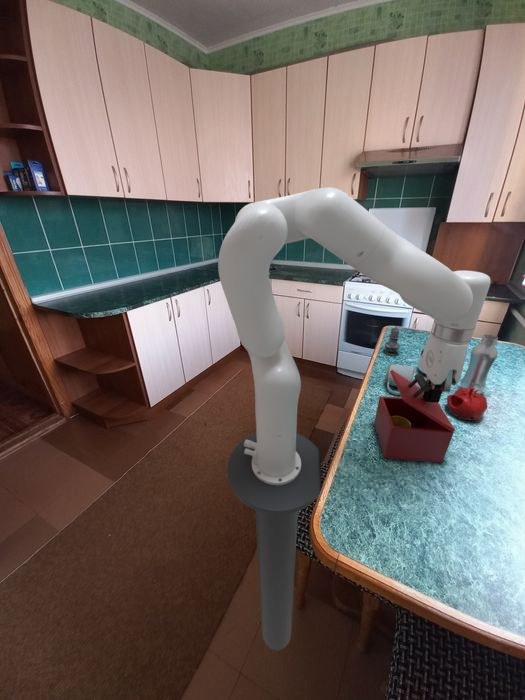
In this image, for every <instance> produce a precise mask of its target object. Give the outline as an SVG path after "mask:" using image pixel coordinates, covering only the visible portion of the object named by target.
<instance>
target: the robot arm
mask: <svg viewBox="0 0 525 700" xmlns="http://www.w3.org/2000/svg"><path fill="white" fill-rule="evenodd" d="M307 239H311V240H313V241H314V242H315V243H317V244H319V245H320V246H322V247H323V248H324V249H326V250H327V251H328V252H330V253H332V254H333V255H334V256H335V257H337V258H339V259H340V260H342V261H343V262H344V263H346V264H347V265H348V266H350V267H351V268H353V269H354V270H355V271H357V272H358V273H359V274H361V275H363V276H364V277H366V278H368V279H369V280H371V281H373V282H374V283H376V284H379V285H380V286H383V287H385V288H387V289H388V290H391V291H393V292H395V293H396V294H398V295H399V296H400V298H401V300H402V301H403V302H404V303H406V304H407V305H408V306H410V307H412V308H413V309H415V310H417V311H419V312H421V313H422V314H424V315H426V316H428V317H430V318H431V319H433V323H432V326H431V329H430V333H429V335H428V337H427V339H426V343H425V345H424V348H423V349H424V351H423V354H422V357H421V361H420V365H421V367H422V369H423V370H424V372H425V373H426V375H427V376H426V379H425V380H426V382H427V383H428V385H429V386H430V389H429V390H428V391H426V392H425V391H424V394H423V398H424V400H425V402H435V403H438V404H439V403H440V400H441V397H442V394H443V393H450V392H451V390H452V386H456V385H458V383H459V381H460V379H461V376H462V373H463V369H464V366H465V362H466V358H467V354H468V348H469V344H470V343H472V338H473V335H474V332H475V330H476V327H477V324H478V321H479V318H480V315H481V312H482V310H483V307H484V304H485V301H486V299H487V295H488V292H489V289H490V286H491V282H492V281H491V277H490V276H489V275H488V274H487V273H484V272H480V271H475V270H455V271H453V270H451V269H450V268H449V267H448V266H446V265H445V264H444V263H442V262H441V261H439V260H438V259H436V258H434V257H433V256H431V255H430V254H428V253H427V252H426V251H424V250H422V249H421V248H419V247H417V246H416V245H414V244H413V243H412V242H411V241H409V240H407V239H406V238H404V237H402V236H401V235H399V234H398V233H396V232H395V231H394V230H392V229H391V228H390V227H388V226H387V225H385V223H384V222H382V221H381V220H380V219H379V218H377V217H376V216H375V215H374V214H372V213H371V212H370V211H369V210H367V209H366V208H365V207H364V206H363V205H361V204H360V203H359V202H358V201H356V200H355V199H354V198H353V197H351V196H350V195H349V194H348V193H346V191H345V192H344V191H343V190H342V189H339V188H336V187H332V186H331V187H329V186H328V187H320V188H313V189H309V190H306V191H302V192H298V193H294V194H293V193H292V194H289V195H283V196H280V197H279V196H278V197H275V198H270V199H269V198H268V199H265V200H259V201H255V202H251V203H248V204H246V205H244V206H243V207H242V208H241V209H240V210H239V211H238V213H237V215H236V217H235V220H234V223H233V224H232V225H231V227H230V229H229V230H228V231H227V233H226V235H225V237H224V238H223V240H222V243H221V246H220V249H219V254H218V259H217V260H218V261H217V263H218V264H217V269H218V277H219V281H220V285H221V288H222V291H223V293H224V297H225V299H226V302H227V305H228V308H229V312H230V313H231V316H232V317H231V318H232V320H233V322H234V325H235V328H236V332H237V336H238V340H239V341H240V343H241V345H242V346H243V347H244V349H245V350H246V351H247V353H248V356H249V360H250V363H251V368H252V369H251V371H252V376H253V384H254V408H255V411H254V413H255V431H256V432H255V433H256V434H257V443H255V442H253V441H250V440H247V439H246V440H245V442H244V447H247V448H252V449H254V451H252V450H250V449H245V451H244V454H247V455H251V456H252V457H253V458H252V470H253V472H254V474H255V475H256V477H257V478H258V479H259V480H261V481H262V482H264V483H266V484H269V485H285V484H287V483H290V482H292V481H293V480H294V479H295V478H297V476H298V475H299V473H300V470H301V459H300V456H299V455H298V453H297V452H296V433H297V428H298V405H299V398H300V394H301V388H302V380H301V379H302V378H301V375H300V372H299V369H298V366H297V364H296V361H295V360H294V358H293V355H292V353H291V350H290V348H289V346H288V343H287V340H286V336H285V325H284V322H283V318H282V316H281V314H280V311H279V309H278V306H277V302H276V300H275V296H274V293H273V289H272V285H271V284H272V283H271V280H270V275H269V273H270V271H269V270H270V266H271V263H272V262H273V260H274V258H275V257H276V256H277V255H278V253H280V251H281V250H282V249H283V247H284V246H285V245H286V244H291V243H296V242H300V241H304V240H307Z"/></svg>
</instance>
